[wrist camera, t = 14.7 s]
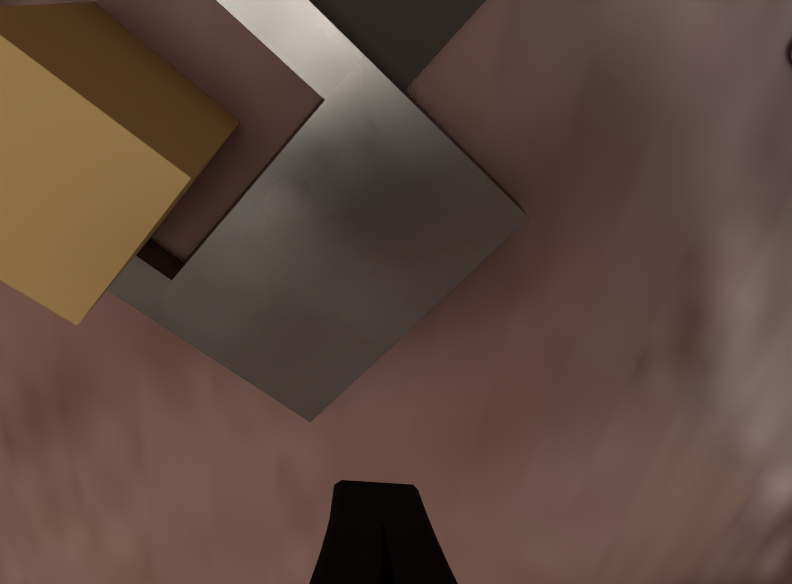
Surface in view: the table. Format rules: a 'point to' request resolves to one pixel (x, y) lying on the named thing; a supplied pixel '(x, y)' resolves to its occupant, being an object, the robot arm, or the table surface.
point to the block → (90, 150)
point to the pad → (400, 30)
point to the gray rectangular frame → (328, 228)
